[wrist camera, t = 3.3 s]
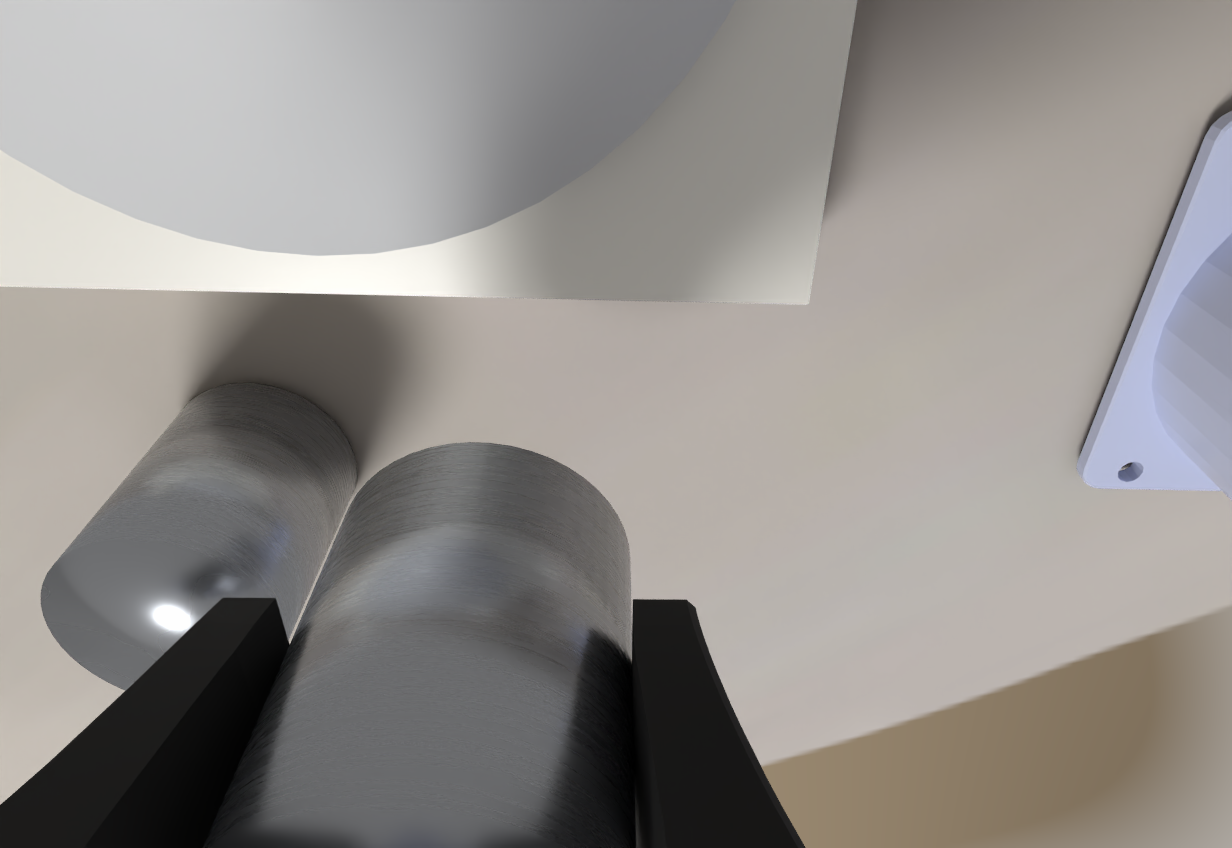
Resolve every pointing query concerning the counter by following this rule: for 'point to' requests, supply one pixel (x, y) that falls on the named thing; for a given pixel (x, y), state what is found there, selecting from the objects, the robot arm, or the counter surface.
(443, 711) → the cylinder
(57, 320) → the counter surface
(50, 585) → the cylinder
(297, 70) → the scale
